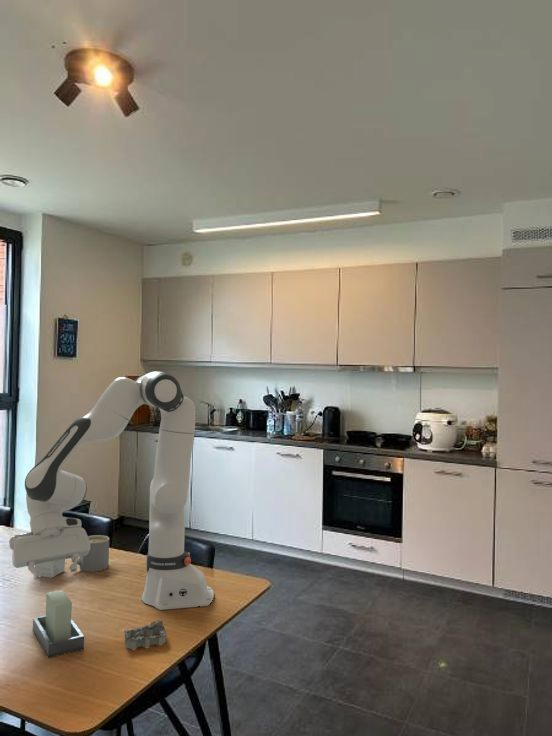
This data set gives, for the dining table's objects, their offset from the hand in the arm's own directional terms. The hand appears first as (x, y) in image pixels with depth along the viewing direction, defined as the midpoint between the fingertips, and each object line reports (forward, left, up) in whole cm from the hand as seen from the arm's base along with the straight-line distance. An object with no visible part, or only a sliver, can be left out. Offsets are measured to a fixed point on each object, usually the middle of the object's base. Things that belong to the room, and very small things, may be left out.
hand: (56, 574), depth 150 cm
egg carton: (-25, +6, -16) cm, 31 cm away
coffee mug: (+3, -51, -16) cm, 53 cm away
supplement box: (+15, -45, -16) cm, 50 cm away
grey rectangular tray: (-2, +4, -15) cm, 16 cm away
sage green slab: (-2, +4, -15) cm, 15 cm away
